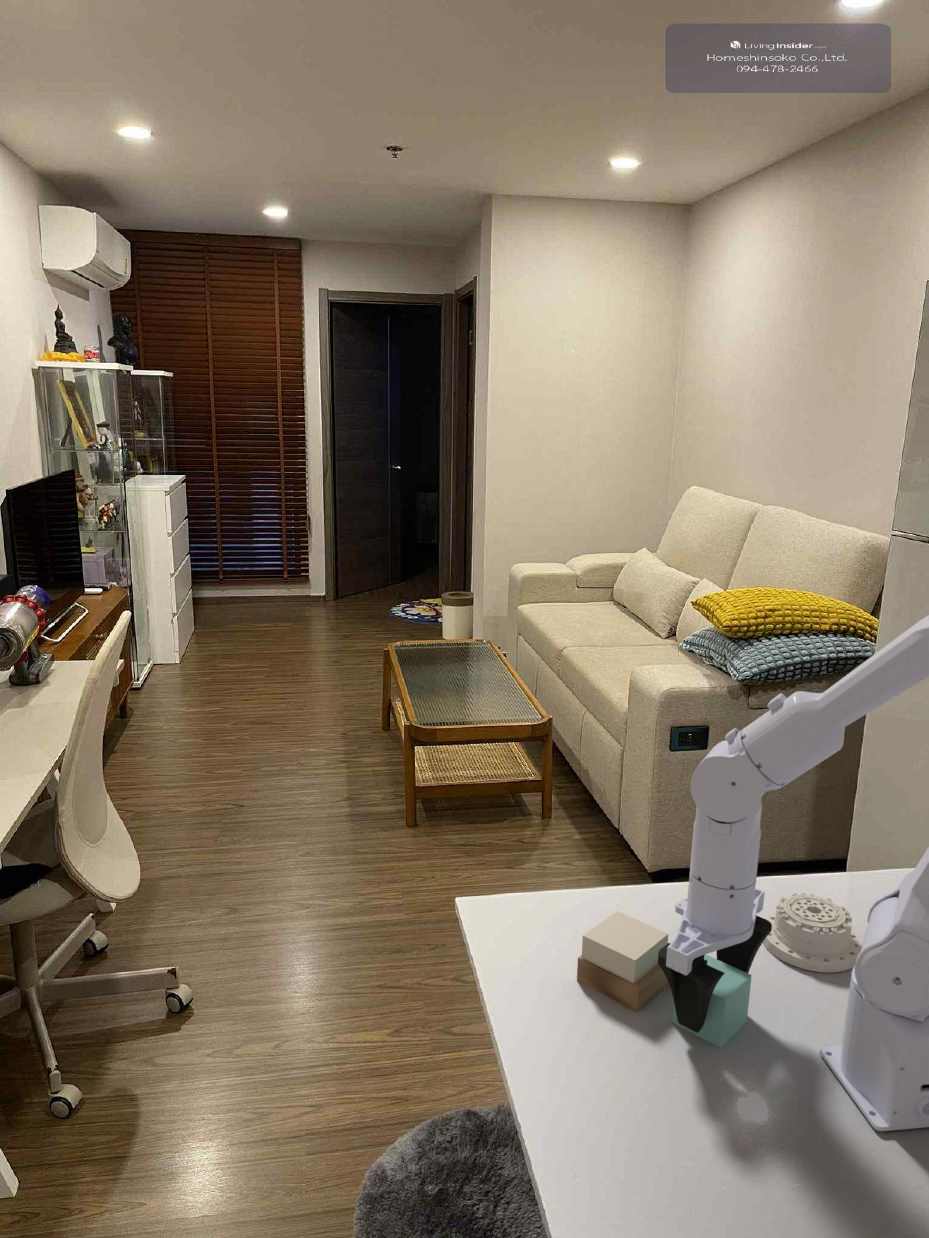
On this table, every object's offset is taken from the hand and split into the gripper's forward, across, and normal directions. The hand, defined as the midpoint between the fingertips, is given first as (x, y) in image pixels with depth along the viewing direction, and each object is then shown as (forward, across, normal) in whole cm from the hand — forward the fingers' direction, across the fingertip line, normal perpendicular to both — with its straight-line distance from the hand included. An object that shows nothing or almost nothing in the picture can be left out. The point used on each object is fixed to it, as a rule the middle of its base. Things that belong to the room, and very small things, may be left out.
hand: (710, 1006), depth 86 cm
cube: (+2, 0, 0) cm, 2 cm away
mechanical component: (+2, -19, +2) cm, 19 cm away
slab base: (+2, 0, -9) cm, 9 cm away
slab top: (-1, 0, -9) cm, 9 cm away
